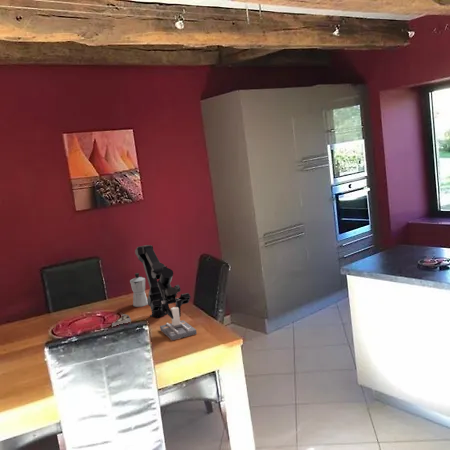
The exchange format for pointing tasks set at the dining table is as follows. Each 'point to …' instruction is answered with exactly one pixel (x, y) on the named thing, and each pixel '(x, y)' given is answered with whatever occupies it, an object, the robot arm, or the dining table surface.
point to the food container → (122, 320)
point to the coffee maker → (138, 291)
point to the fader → (175, 317)
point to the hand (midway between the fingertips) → (176, 317)
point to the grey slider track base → (178, 330)
